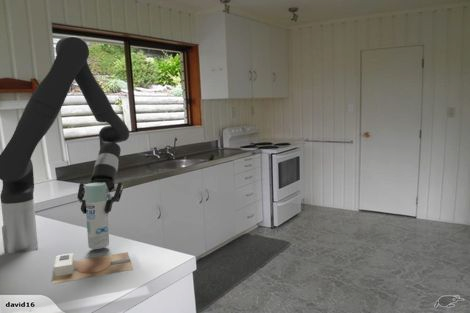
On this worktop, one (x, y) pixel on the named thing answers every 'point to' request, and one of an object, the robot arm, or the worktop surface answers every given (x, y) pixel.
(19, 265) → the worktop surface
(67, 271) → the block
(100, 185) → the spray paint can
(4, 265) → the worktop surface
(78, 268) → the plywood panel
